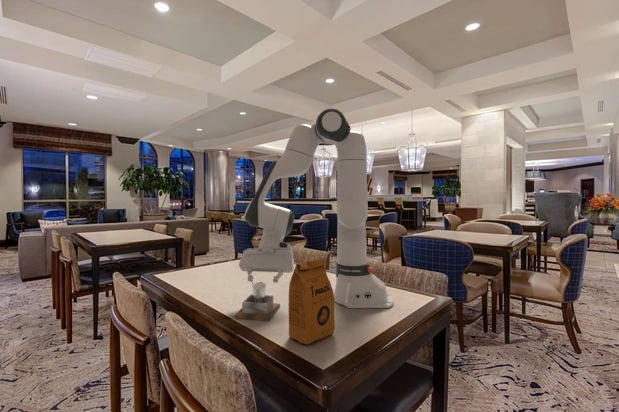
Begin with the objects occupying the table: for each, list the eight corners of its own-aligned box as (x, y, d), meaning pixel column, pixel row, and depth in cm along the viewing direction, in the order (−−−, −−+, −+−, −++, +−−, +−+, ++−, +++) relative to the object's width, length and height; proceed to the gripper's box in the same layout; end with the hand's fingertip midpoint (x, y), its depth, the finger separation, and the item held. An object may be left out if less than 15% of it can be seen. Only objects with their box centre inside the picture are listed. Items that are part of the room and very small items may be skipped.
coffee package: (340, 336, 87) (340, 260, 86) (305, 350, 79) (305, 266, 78) (317, 324, 94) (317, 254, 93) (284, 336, 87) (283, 260, 86)
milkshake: (254, 305, 107) (254, 277, 106) (268, 307, 105) (268, 279, 105) (248, 310, 103) (247, 281, 102) (262, 312, 101) (261, 282, 100)
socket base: (280, 307, 109) (280, 294, 109) (270, 320, 97) (269, 306, 97) (248, 304, 111) (248, 292, 111) (234, 318, 99) (234, 304, 99)
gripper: (242, 243, 116) (232, 275, 107) (294, 244, 112) (288, 277, 103) (246, 252, 120) (237, 284, 111) (297, 254, 117) (291, 286, 108)
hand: (262, 281), depth 107 cm, fingers open, 8 cm apart
